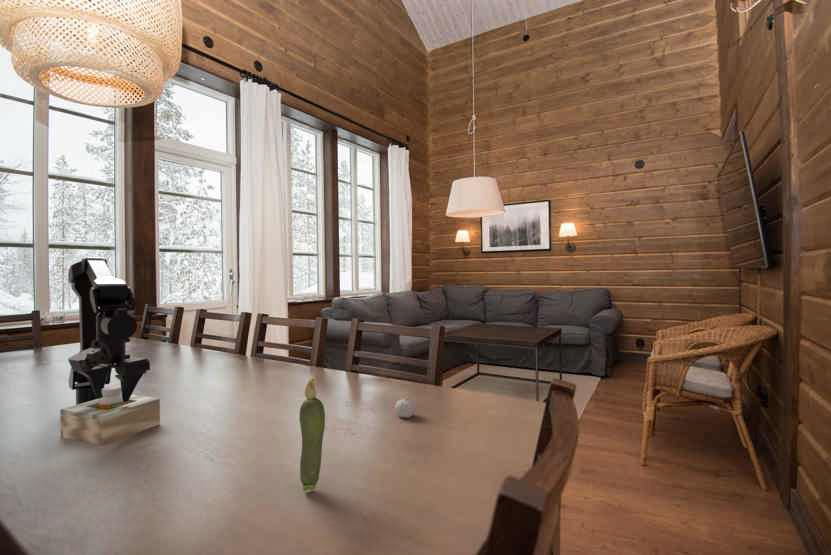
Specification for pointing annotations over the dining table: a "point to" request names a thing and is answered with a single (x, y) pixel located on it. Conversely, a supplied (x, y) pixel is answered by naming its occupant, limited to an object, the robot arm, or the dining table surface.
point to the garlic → (405, 408)
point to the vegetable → (311, 437)
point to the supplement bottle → (111, 398)
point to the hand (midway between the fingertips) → (111, 399)
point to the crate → (109, 420)
